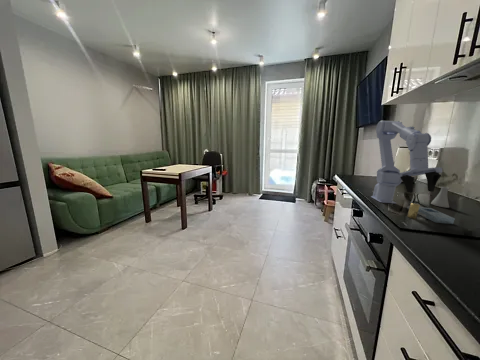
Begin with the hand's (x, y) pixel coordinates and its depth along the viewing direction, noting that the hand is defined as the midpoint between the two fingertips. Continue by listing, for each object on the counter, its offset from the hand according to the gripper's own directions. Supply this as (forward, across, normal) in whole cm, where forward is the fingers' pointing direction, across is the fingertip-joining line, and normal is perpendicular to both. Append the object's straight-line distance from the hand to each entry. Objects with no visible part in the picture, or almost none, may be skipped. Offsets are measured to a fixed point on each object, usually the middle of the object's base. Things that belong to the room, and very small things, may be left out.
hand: (419, 192), depth 83 cm
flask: (+2, -13, +36) cm, 38 cm away
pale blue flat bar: (+9, -5, +12) cm, 16 cm away
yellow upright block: (+11, -4, +2) cm, 12 cm away
